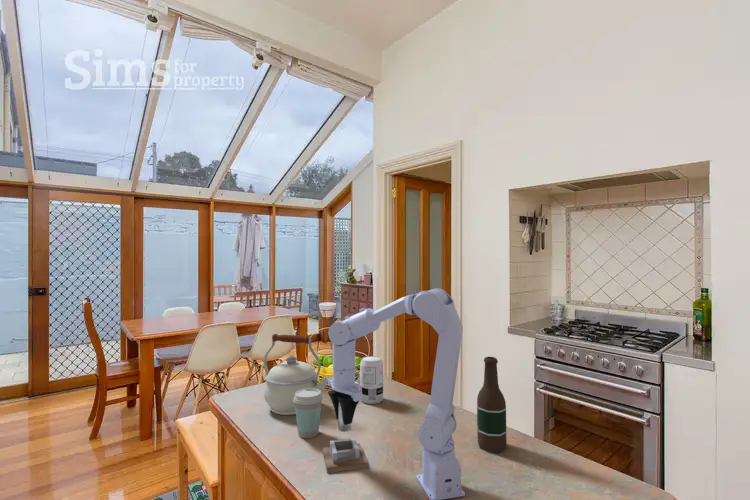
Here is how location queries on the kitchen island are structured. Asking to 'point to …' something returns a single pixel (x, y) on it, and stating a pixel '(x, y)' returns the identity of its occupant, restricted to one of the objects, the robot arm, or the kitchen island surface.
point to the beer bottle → (491, 411)
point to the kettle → (289, 377)
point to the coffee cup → (308, 411)
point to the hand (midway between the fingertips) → (344, 421)
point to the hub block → (344, 456)
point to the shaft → (340, 421)
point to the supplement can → (371, 379)
